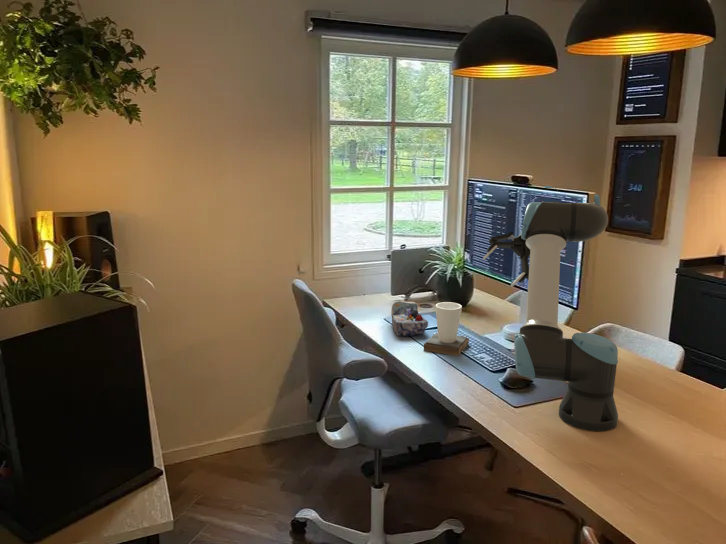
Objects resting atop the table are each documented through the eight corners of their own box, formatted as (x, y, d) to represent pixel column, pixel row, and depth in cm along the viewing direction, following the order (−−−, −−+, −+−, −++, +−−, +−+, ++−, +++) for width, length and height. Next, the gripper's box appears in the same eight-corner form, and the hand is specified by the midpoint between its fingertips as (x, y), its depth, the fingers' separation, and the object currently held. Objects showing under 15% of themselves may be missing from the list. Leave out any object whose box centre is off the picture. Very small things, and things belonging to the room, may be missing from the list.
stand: (458, 356, 203) (458, 348, 202) (423, 350, 208) (423, 342, 208) (468, 344, 214) (469, 337, 213) (435, 339, 220) (435, 331, 219)
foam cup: (459, 345, 205) (461, 310, 202) (433, 343, 207) (434, 308, 204) (460, 336, 214) (461, 302, 211) (435, 334, 216) (436, 301, 213)
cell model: (414, 296, 238) (431, 311, 220) (413, 321, 241) (430, 338, 222) (384, 298, 235) (398, 313, 216) (383, 323, 238) (397, 340, 219)
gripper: (549, 266, 214) (519, 300, 204) (500, 220, 217) (468, 251, 206) (560, 257, 207) (530, 292, 197) (510, 209, 210) (478, 241, 200)
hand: (498, 271), depth 202 cm, fingers open, 13 cm apart
